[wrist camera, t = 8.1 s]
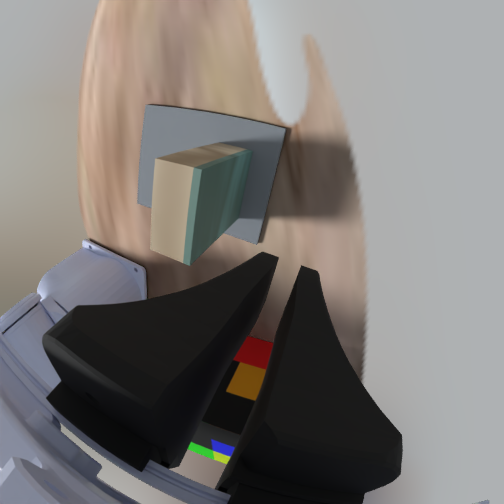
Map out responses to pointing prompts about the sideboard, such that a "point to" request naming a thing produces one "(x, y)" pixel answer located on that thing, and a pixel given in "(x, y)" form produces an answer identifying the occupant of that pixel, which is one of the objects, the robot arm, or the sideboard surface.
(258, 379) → the puzzle toy
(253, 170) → the mat
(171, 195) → the tile
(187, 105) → the sideboard surface
